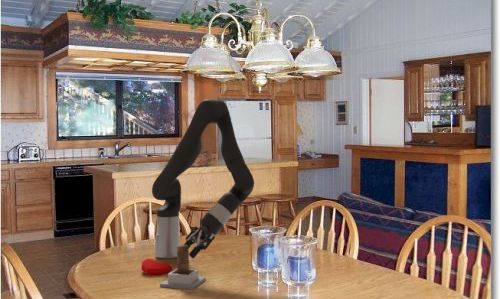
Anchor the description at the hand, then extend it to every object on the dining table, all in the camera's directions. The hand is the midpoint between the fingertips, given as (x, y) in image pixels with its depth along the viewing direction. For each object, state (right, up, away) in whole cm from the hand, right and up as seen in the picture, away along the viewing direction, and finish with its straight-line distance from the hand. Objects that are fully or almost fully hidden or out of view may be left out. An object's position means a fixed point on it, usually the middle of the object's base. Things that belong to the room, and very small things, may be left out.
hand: (186, 254), depth 190 cm
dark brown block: (-1, -9, 0) cm, 9 cm away
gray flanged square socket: (-1, -10, 0) cm, 10 cm away
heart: (-14, -10, +14) cm, 22 cm away
